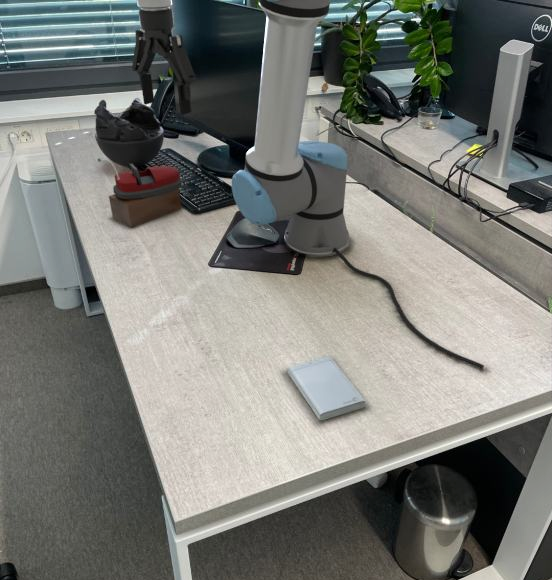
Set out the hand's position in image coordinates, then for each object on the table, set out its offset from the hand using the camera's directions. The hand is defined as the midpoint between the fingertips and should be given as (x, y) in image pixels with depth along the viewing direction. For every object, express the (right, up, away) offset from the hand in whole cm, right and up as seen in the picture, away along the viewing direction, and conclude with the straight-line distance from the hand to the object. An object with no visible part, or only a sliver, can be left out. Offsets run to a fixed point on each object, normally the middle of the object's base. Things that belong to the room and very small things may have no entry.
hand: (167, 108), depth 141 cm
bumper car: (-7, -19, +6) cm, 21 cm away
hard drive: (+35, -65, -44) cm, 86 cm away
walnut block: (-7, -23, +10) cm, 26 cm away
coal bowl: (-17, -3, +36) cm, 40 cm away
